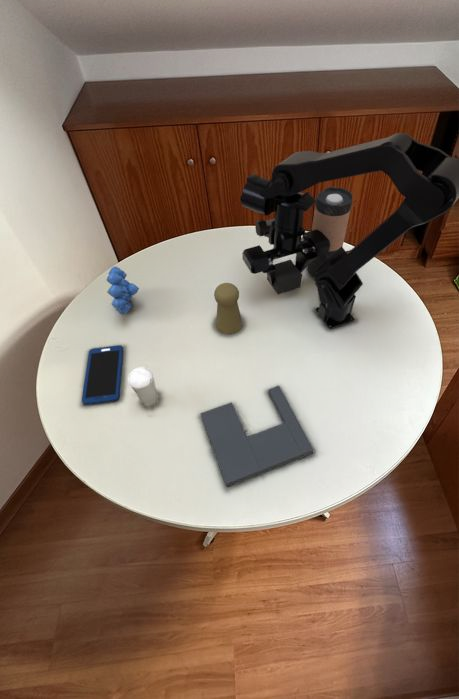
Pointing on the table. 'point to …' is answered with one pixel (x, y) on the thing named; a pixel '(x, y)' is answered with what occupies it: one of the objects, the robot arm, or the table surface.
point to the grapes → (121, 290)
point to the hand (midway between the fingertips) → (284, 280)
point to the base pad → (254, 441)
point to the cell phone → (103, 375)
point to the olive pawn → (227, 309)
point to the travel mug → (331, 221)
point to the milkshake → (144, 385)
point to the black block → (286, 277)
